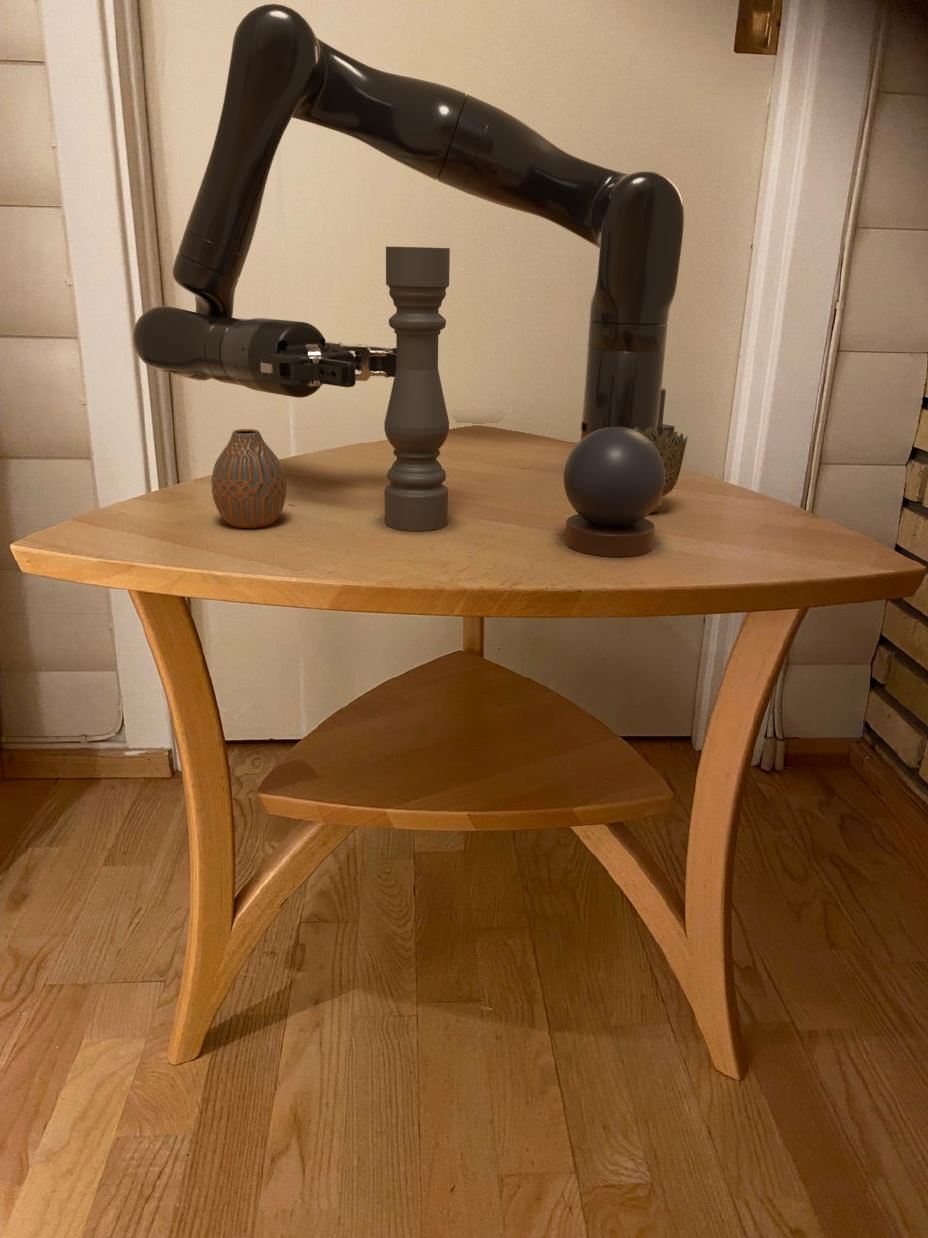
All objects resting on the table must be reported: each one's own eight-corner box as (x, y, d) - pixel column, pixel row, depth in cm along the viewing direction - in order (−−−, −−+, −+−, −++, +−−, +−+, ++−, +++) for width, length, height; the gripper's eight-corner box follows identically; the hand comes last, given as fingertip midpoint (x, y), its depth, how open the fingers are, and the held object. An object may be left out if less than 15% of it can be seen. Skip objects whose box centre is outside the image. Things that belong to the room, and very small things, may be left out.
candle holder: (440, 533, 90) (444, 248, 81) (376, 528, 91) (373, 246, 82) (454, 516, 96) (459, 248, 87) (394, 511, 97) (393, 246, 88)
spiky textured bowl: (635, 523, 95) (642, 442, 92) (592, 505, 101) (598, 429, 98) (694, 515, 98) (703, 437, 95) (649, 499, 104) (656, 425, 101)
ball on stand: (605, 525, 94) (613, 415, 90) (678, 547, 88) (691, 430, 84) (539, 540, 89) (545, 424, 85) (612, 565, 82) (623, 440, 78)
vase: (300, 518, 94) (297, 428, 91) (264, 536, 88) (259, 440, 85) (239, 510, 96) (233, 422, 93) (199, 527, 90) (192, 434, 87)
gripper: (215, 322, 94) (328, 334, 84) (324, 316, 104) (436, 326, 95) (221, 399, 97) (331, 420, 87) (326, 386, 107) (435, 403, 97)
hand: (385, 371), depth 91 cm, fingers open, 8 cm apart
